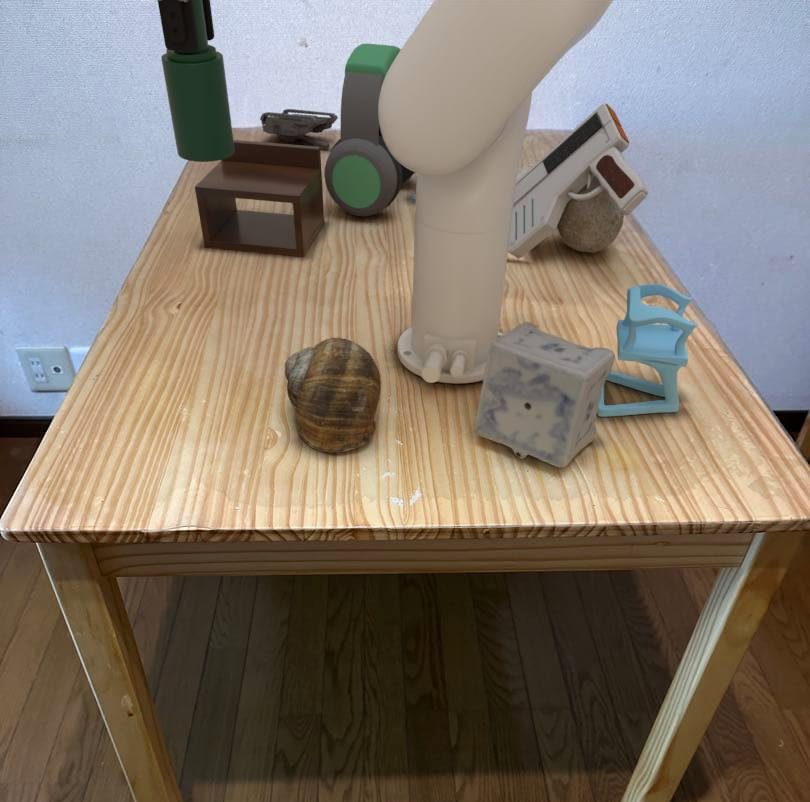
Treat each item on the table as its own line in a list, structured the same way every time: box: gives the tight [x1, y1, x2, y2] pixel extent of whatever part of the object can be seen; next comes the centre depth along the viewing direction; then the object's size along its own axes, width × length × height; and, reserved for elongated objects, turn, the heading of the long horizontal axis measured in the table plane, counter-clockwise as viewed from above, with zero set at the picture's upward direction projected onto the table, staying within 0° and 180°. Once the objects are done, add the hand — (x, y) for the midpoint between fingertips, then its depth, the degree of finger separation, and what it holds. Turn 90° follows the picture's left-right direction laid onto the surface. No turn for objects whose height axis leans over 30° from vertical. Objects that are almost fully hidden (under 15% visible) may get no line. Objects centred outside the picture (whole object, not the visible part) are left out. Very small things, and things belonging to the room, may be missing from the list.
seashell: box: [284, 336, 382, 453], centre depth 76 cm, size 11×9×8 cm
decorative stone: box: [557, 176, 625, 254], centre depth 104 cm, size 10×8×10 cm
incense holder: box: [473, 321, 616, 468], centre depth 73 cm, size 10×8×10 cm
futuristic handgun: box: [508, 102, 649, 259], centre depth 100 cm, size 3×20×15 cm
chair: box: [596, 283, 698, 418], centre depth 78 cm, size 8×8×12 cm
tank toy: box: [259, 108, 339, 150], centre depth 136 cm, size 12×10×5 cm
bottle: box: [160, 0, 235, 163], centre depth 79 cm, size 6×6×16 cm
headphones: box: [324, 43, 416, 217], centre depth 113 cm, size 19×11×20 cm, turn 164°
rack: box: [194, 139, 325, 258], centre depth 106 cm, size 11×14×10 cm
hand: (190, 42), depth 77 cm, fingers closed on bottle, 3 cm apart
